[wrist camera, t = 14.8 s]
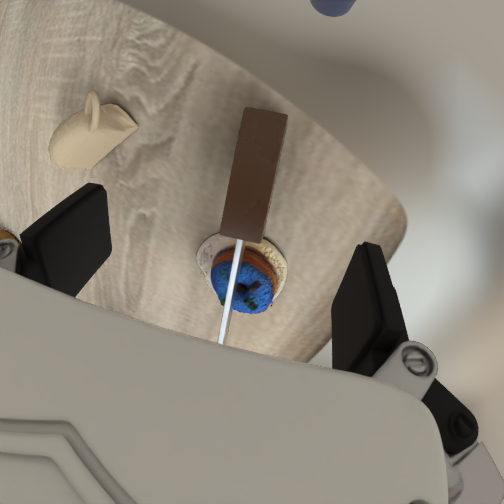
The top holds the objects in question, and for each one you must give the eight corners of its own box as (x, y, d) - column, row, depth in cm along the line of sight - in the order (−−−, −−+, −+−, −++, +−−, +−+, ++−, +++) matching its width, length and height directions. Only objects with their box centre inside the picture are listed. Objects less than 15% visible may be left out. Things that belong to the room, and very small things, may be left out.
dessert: (310, 278, 25) (269, 336, 22) (270, 283, 31) (234, 329, 28) (244, 207, 23) (192, 262, 21) (214, 226, 29) (172, 271, 26)
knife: (250, 115, 19) (244, 106, 17) (287, 123, 19) (288, 114, 16) (205, 355, 24) (196, 376, 21) (235, 362, 24) (229, 384, 21)
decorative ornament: (67, 135, 22) (26, 153, 17) (129, 77, 19) (86, 83, 14) (88, 170, 24) (49, 194, 19) (154, 118, 20) (115, 133, 16)
